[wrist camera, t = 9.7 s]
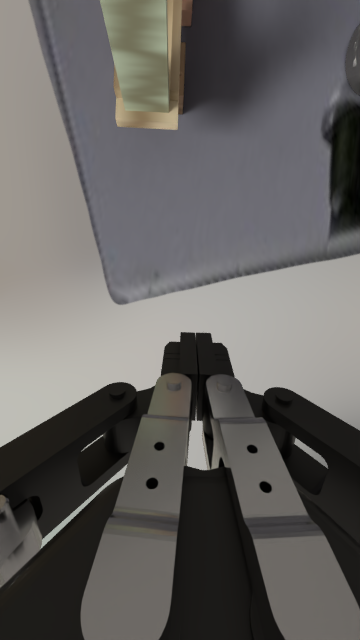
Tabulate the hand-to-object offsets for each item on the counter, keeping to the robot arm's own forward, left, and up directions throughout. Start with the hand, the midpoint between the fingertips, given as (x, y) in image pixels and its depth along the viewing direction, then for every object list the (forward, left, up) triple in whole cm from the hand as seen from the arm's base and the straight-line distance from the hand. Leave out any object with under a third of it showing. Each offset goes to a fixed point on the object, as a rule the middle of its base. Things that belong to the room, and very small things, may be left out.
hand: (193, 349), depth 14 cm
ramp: (+4, -19, -23) cm, 31 cm away
